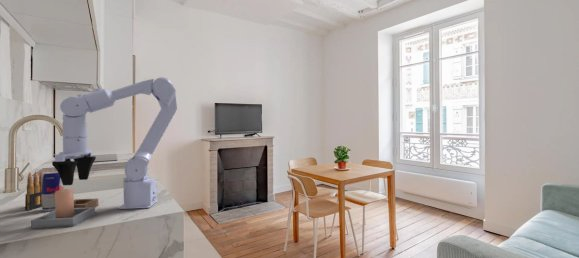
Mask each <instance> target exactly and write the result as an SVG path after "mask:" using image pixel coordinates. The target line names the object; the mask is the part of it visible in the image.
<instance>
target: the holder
mask: <svg viewBox="0 0 579 258" xmlns="http://www.w3.org/2000/svg"><path fill="white" fill-rule="evenodd" d="M89 207H95V208H97V207H99V198H77V199H75V198H74V208H89Z"/></svg>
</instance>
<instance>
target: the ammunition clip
mask: <svg viewBox="0 0 579 258" xmlns="http://www.w3.org/2000/svg"><path fill="white" fill-rule="evenodd" d="M50 171H57V170H56V169H53V168H50ZM43 172H49V170H48V169H46V170H45V171H43V170H40V172H39V175H38V172H37V171H34V173H33V175H32V173H31V172H29V173H28V175H27V179H26V180H27V182H26V193H25V198H24V199H25V202H24V204H25V208H24V210H25V211H33V210H37V209H40V208H42V174H43Z"/></svg>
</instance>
